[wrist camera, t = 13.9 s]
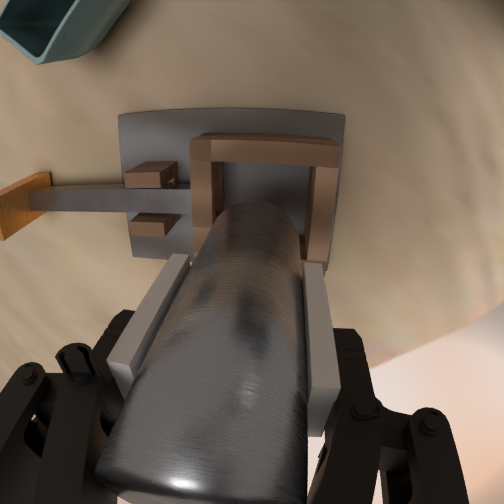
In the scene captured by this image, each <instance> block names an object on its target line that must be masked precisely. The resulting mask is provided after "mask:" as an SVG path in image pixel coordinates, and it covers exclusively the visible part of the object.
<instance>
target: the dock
mask: <svg viewBox="0 0 504 504" xmlns="http://www.w3.org/2000/svg"><path fill="white" fill-rule="evenodd" d="M344 122H345V115H340V114H332V113H322V112H311V111H298V110H282V109H259V108H200V109H176V110H161V111H148V112H137V113H128V114H121V115H118V126H119V143H120V157H121V169H122V179H123V184H125V188H161V187H162V186H164V185H165V184H191V206H192V214H168V213H136V212H126V214H127V221H128V228H129V235H130V242H131V248H132V254H133V257H142V258H154V259H167V260H169V258H170V257H171V255H172V254H173V253H175V254H189V260H190V261H192V262H193V261H194V259H195V257H196V255H197V254H198V252H199V250H200V248H201V246H202V244H203V242H204V241H205V239H206V237H207V235H208V233H209V231H210V230H211V228H212V226H213V224H214V222H215V220H216V219H217V218H218V216H219V215H220V214H221V213H222V212H223V211H224V210H226V209H227V208H229V207H230V206H232V205H235V204H237V203H240V202H245V201H261V202H265V203H269V204H271V205H274V206H276V207H277V208H279V209H281V210H282V211H283V212H284V213H286V214H287V215H288V216H289V218H290V219H291V220H292V222H293V223H294V225H295V227H296V229H297V232H298V236H299V246H300V259H301V273H302V275H303V267H304V262H306V263H322V268H323V274H324V276H325V271H327V268H328V262H329V255H330V249H331V242H332V235H333V228H334V220H335V213H336V205H337V196H338V187H339V178H340V169H341V158H342V147H343V136H344Z"/></svg>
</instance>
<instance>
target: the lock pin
mask: <svg viewBox="0 0 504 504" xmlns="http://www.w3.org/2000/svg"><path fill="white" fill-rule="evenodd" d="M47 211H85V212H136V213H168V214H192V206H191V184H165V185H164V186H162V187H161V188H125V184H97V185H71V186H51V180H50V173H49V172H44V173H35V174H33V175H31V176H28V177H26V178H24V179H22V180H20V181H18V182H16V183H14V184H12V185H10V186H8V187H6V188H4V189H2V190H0V241H5V240H6V239H7V238H9V237H10V236H12V235H13V234H14V233H16V232H17V231H19V230H20V229H22V228H23V227H25V226H26V225H28V224H29V223H31V222H32V221H34V220H35V219H37V218H38V217H40V216H41V215H43V214H44V213H46V212H47Z"/></svg>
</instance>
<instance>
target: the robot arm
mask: <svg viewBox="0 0 504 504" xmlns="http://www.w3.org/2000/svg"><path fill="white" fill-rule="evenodd" d="M189 269H190V260H189V254H175V253H173V254H172V255H171V257H170V258H169V260H168V261H167V263H166V264H165V266H164V267H163V269H162V270H161V272H160V274H159V275H158V277H157V278H156V280H155V281H154V283H153V284H152V286H151V287H150V289H149V291H148V292H147V294H146V295H145V297H144V298H143V300H142V302H141V303H140V305H139V306H138V308H137V310H136V311H131V310H125V309H124V310H123V311H121V312H120V313H119V314H117V315H116V316H115V317H114V318H113V319H112V321H111V322H110V324H109V325H108V328H106V330H105V331H104V333H103V335H102V336H101V337H100V339H99V340H98V342H97V344H96V345H95V347H94V348H93V350H92V349H91V347H89V346H88V345H86V344H83V343H71V344H69V345H66V346H64V347H63V348H62V349H60V350H59V351H58V353H57V354H56V356H55V358H56V360H57V361H58V363H59V365H60V367H61V369H62V371H63V373H46V372H45V370H44V369H43V367H42V365H40V364H38V363H35V362H30V363H25V364H24V365H22V366H20V367H19V368H18V369H17V370H16V371H15V373H14V374H13V376H12V377H11V378H10V380H9V381H8V383H7V384H6V386H5V387H4V388H3V390H2V391H1V393H0V504H117V495H115V494H114V493H112V492H111V491H109V490H108V489H107V488H106V487H105V486H104V485H103V484H102V483H101V482H99V481H98V480H97V478H96V477H95V475H94V470H95V468H96V465H97V463H98V460H99V458H100V456H101V453H102V451H103V449H104V446H105V444H106V442H107V439H108V437H109V435H110V432H111V430H112V428H113V425H114V423H115V421H116V419H117V416H118V414H119V412H120V410H121V408H122V405H123V403H124V401H125V399H126V397H127V394H128V392H129V390H130V388H131V386H132V384H133V381H134V379H135V377H136V375H137V373H138V371H139V369H140V366H141V364H142V362H143V360H144V358H145V356H146V354H147V352H148V350H149V348H150V346H151V344H152V342H153V340H154V337H155V335H156V333H157V331H158V329H159V327H160V325H161V323H162V321H163V319H164V317H165V315H166V313H167V311H168V309H169V307H170V305H171V303H172V301H173V300H174V298H175V296H176V294H177V292H178V290H179V288H180V286H181V284H182V282H183V280H184V278H185V276H186V274H187V272H188V271H189ZM302 290H303V307H304V326H305V348H306V377H307V413H308V437H311V436H312V437H314V436H315V437H321V436H322V434H323V432H324V430H325V443H324V445H323V447H322V449H321V451H320V454H319V456H318V458H319V461H318V464H317V468H316V471H315V474H314V478H313V481H312V484H311V487H310V490H309V493H308V496H307V504H372V500H373V495H374V490H375V485H376V479H377V473H378V470H380V477H381V487H382V497H383V504H469V500H468V495H467V490H466V486H465V481H464V477H463V473H462V468H461V464H460V460H459V456H458V453H457V449H456V445H455V442H454V438H453V435H452V431H451V428H450V425H449V422H448V420H447V418H446V416H445V415H444V414H442V412H441V411H439V410H437V409H434V408H428V407H425V408H421V409H418V410H417V411H416V412H415V413H414V414H413V415H407V414H403V413H398V412H394V411H391V410H389V409H387V408H385V407H384V406H383V405H382V403H381V402H380V400H378V399H377V398H376V397H375V394H374V391H373V386H372V382H371V377H370V372H369V367H368V363H367V361H366V354H365V352H364V346H363V342H362V338H361V337H360V336H359V334H358V333H357V332H356V331H355V329H343V328H333V327H332V321H331V314H330V308H329V302H328V296H327V290H326V285H325V279H324V274H323V268H322V263H306V262H304V267H303V275H302ZM34 414H35V415H36V417H35V418H34V419H33V420H31V419H32V417H33V415H34Z"/></svg>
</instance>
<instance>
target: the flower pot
mask: <svg viewBox="0 0 504 504" xmlns="http://www.w3.org/2000/svg"><path fill="white" fill-rule="evenodd" d="M130 2H131V0H7V2H6V4H5V5H4V7H3V9H2V11H1V12H0V35H1V36H2V37H3V38H4V39H6V40H7V41H8V42H9V43H11V44H12V45H13V46H14V47H16V48H17V49H18V50H19V51H20V52H22V53H23V54H24V55H25V56H27V57H28V58H29V59H30V60H31V61H32V62H34V63H35V64H37V65H40V64H44V63H50V62H56V61H62V60H68V59H74V58H78V57H80V56H83V55H85V54H86V53H88V52H90V51H91V50H92V49H93V48H95V47H96V46H97V45H98V44H99V43H100V42H101V41H102V40H103V39H104V37H105V36H106V34H107V33H108V31H109V30H110V28H111V27H112V26H113V24H114V23H115V22H116V20H117V19H118V18H119V16H120V15H121V14H122V12H123V11H124V10H125V9H126V7H127V6H128V5H129V4H130Z"/></svg>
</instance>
